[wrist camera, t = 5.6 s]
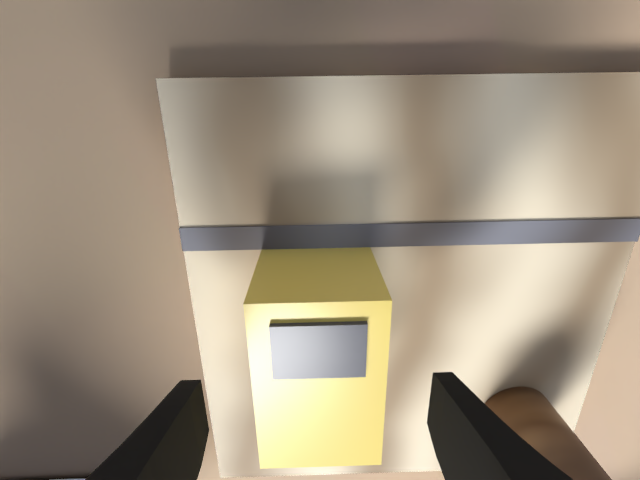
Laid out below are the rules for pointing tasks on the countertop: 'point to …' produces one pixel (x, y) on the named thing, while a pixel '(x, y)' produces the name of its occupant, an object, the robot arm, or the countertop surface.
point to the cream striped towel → (412, 227)
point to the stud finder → (318, 356)
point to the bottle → (545, 431)
